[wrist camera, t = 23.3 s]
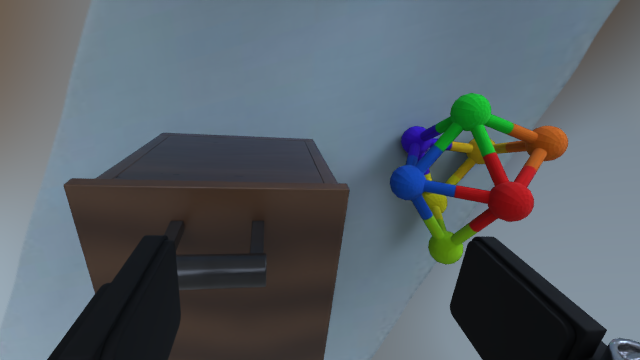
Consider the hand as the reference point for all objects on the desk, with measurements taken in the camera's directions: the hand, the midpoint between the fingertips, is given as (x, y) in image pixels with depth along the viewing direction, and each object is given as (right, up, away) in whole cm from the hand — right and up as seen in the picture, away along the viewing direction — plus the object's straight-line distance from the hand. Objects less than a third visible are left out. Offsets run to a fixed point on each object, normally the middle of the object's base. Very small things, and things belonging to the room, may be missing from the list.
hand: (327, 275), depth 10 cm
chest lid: (-7, -5, +12) cm, 14 cm away
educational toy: (+12, +6, +27) cm, 30 cm away
